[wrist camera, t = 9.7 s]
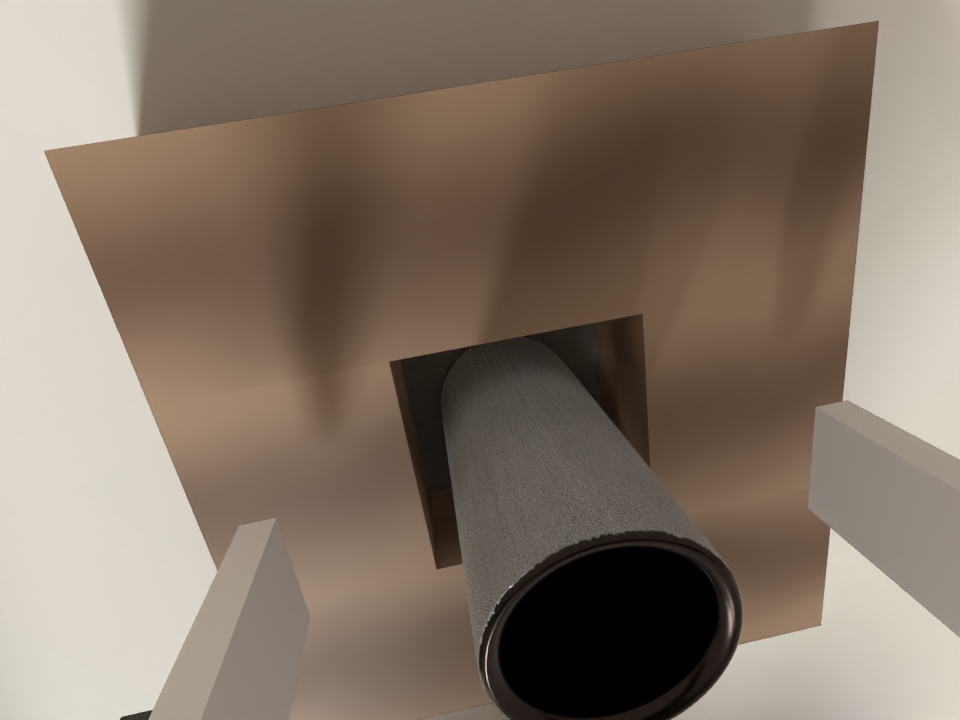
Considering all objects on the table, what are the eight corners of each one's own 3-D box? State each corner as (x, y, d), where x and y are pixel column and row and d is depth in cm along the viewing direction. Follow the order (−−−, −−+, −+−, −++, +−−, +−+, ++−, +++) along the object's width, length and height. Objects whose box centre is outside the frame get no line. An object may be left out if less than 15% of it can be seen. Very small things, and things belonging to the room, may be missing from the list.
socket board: (750, 547, 22) (820, 625, 18) (312, 645, 21) (291, 749, 17) (766, 55, 16) (878, 21, 12) (137, 155, 14) (43, 151, 11)
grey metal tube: (411, 401, 18) (417, 671, 8) (508, 305, 17) (635, 479, 8) (504, 477, 19) (600, 782, 10) (597, 392, 19) (797, 629, 9)
